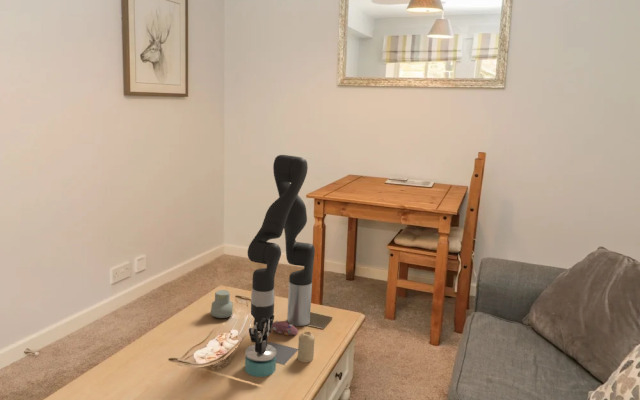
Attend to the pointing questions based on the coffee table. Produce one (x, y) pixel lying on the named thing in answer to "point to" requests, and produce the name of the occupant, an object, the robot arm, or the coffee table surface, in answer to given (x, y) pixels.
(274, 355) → the lid
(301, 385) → the coffee table surface
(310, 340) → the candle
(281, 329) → the purple rounded lump
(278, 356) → the mat
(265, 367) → the bowl
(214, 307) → the air freshener
